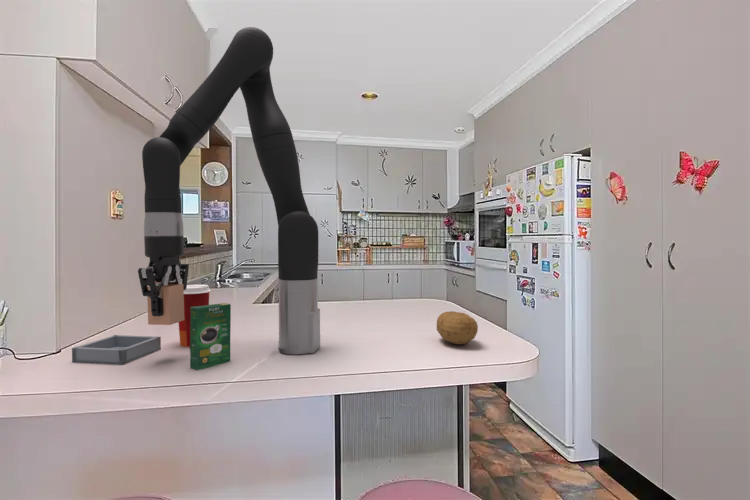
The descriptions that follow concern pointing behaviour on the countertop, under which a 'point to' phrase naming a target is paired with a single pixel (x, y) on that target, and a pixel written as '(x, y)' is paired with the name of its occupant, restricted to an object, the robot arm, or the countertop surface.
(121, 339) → the tray
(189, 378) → the countertop surface
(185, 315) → the coffee cup
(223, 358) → the coffee box
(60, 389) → the countertop surface
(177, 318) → the light brown open box
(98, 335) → the countertop surface
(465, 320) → the potato
